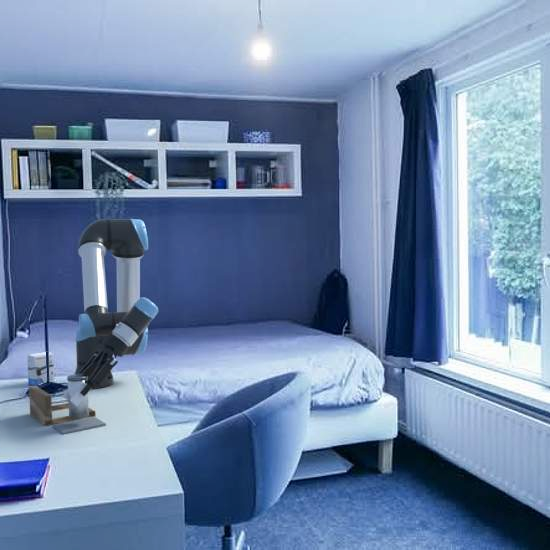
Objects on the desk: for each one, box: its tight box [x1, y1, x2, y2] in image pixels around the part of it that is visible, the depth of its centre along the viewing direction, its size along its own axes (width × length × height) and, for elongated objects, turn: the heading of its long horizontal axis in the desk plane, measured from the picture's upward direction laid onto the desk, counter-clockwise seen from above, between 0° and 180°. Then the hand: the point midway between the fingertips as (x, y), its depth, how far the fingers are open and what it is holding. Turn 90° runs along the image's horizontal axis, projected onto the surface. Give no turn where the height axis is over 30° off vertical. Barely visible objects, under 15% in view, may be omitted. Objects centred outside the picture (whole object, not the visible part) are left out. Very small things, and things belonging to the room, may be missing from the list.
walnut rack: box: [28, 385, 96, 427], centre depth 197 cm, size 16×16×9 cm
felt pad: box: [52, 416, 107, 435], centre depth 185 cm, size 13×9×1 cm
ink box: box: [27, 351, 55, 386], centre depth 239 cm, size 8×5×12 cm, turn 143°
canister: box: [66, 373, 89, 418], centre depth 184 cm, size 6×6×12 cm
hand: (69, 401), depth 183 cm, fingers closed on canister, 5 cm apart
